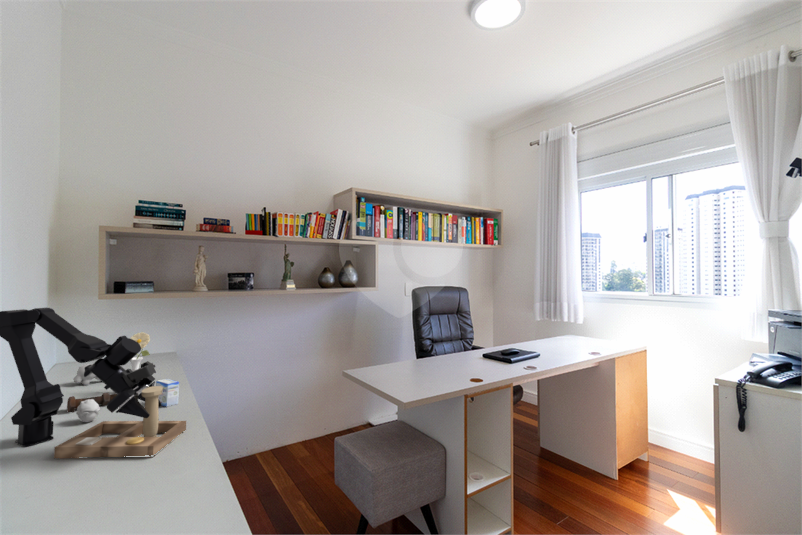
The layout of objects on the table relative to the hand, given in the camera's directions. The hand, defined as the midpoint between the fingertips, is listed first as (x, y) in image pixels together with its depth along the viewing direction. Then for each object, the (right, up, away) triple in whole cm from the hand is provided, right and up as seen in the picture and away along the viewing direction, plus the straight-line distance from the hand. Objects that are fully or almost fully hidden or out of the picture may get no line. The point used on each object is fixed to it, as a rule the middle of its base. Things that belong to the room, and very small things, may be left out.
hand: (154, 411), depth 112 cm
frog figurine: (-30, -8, +12) cm, 34 cm away
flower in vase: (-37, -9, +44) cm, 58 cm away
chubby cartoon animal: (-64, -9, +55) cm, 85 cm away
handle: (-1, -9, -1) cm, 9 cm away
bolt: (-39, -9, +26) cm, 48 cm away
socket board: (-6, -8, -3) cm, 11 cm away
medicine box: (-16, -9, +31) cm, 36 cm away
